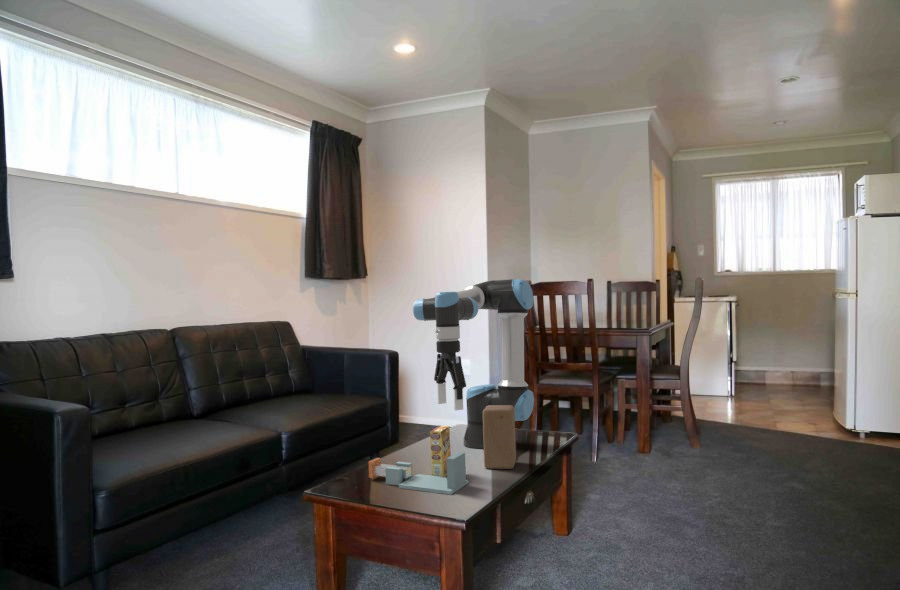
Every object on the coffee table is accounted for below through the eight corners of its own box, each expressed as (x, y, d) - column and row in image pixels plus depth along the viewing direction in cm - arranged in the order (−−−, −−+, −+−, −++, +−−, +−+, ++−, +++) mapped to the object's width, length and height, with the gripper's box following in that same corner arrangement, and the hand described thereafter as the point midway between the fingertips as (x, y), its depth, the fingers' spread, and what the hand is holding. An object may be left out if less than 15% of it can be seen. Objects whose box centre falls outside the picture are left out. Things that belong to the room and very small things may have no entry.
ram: (377, 473, 199) (377, 457, 199) (412, 477, 193) (412, 461, 193) (369, 477, 195) (368, 461, 195) (404, 482, 189) (404, 465, 189)
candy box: (443, 479, 193) (441, 431, 193) (431, 478, 194) (429, 430, 195) (451, 471, 202) (450, 425, 202) (439, 470, 203) (438, 425, 203)
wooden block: (513, 470, 201) (511, 410, 201) (483, 469, 203) (482, 409, 203) (516, 461, 211) (514, 404, 211) (488, 461, 213) (486, 404, 213)
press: (402, 475, 199) (401, 444, 199) (468, 483, 188) (467, 451, 188) (382, 485, 188) (381, 453, 188) (451, 494, 177) (450, 460, 177)
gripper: (423, 338, 202) (425, 402, 202) (452, 342, 179) (455, 414, 179) (443, 337, 205) (445, 400, 205) (475, 341, 182) (477, 411, 182)
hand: (450, 406), depth 192 cm, fingers open, 13 cm apart
